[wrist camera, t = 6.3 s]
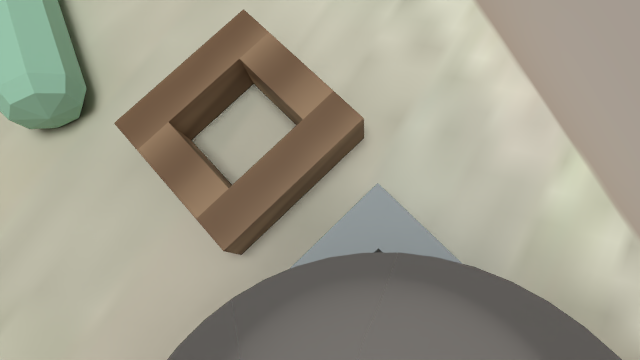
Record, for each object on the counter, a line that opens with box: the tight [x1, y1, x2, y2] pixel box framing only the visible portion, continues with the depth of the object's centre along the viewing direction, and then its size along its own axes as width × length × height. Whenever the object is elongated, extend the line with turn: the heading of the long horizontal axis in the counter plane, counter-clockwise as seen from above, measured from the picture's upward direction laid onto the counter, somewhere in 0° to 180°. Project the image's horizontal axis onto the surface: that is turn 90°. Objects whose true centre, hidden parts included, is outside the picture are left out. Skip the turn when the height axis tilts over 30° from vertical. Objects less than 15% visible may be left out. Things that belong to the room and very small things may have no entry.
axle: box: [167, 253, 621, 360], centre depth 9 cm, size 3×3×14 cm
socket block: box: [290, 183, 462, 269], centre depth 20 cm, size 10×10×3 cm
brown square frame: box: [114, 9, 364, 255], centre depth 23 cm, size 10×10×3 cm
